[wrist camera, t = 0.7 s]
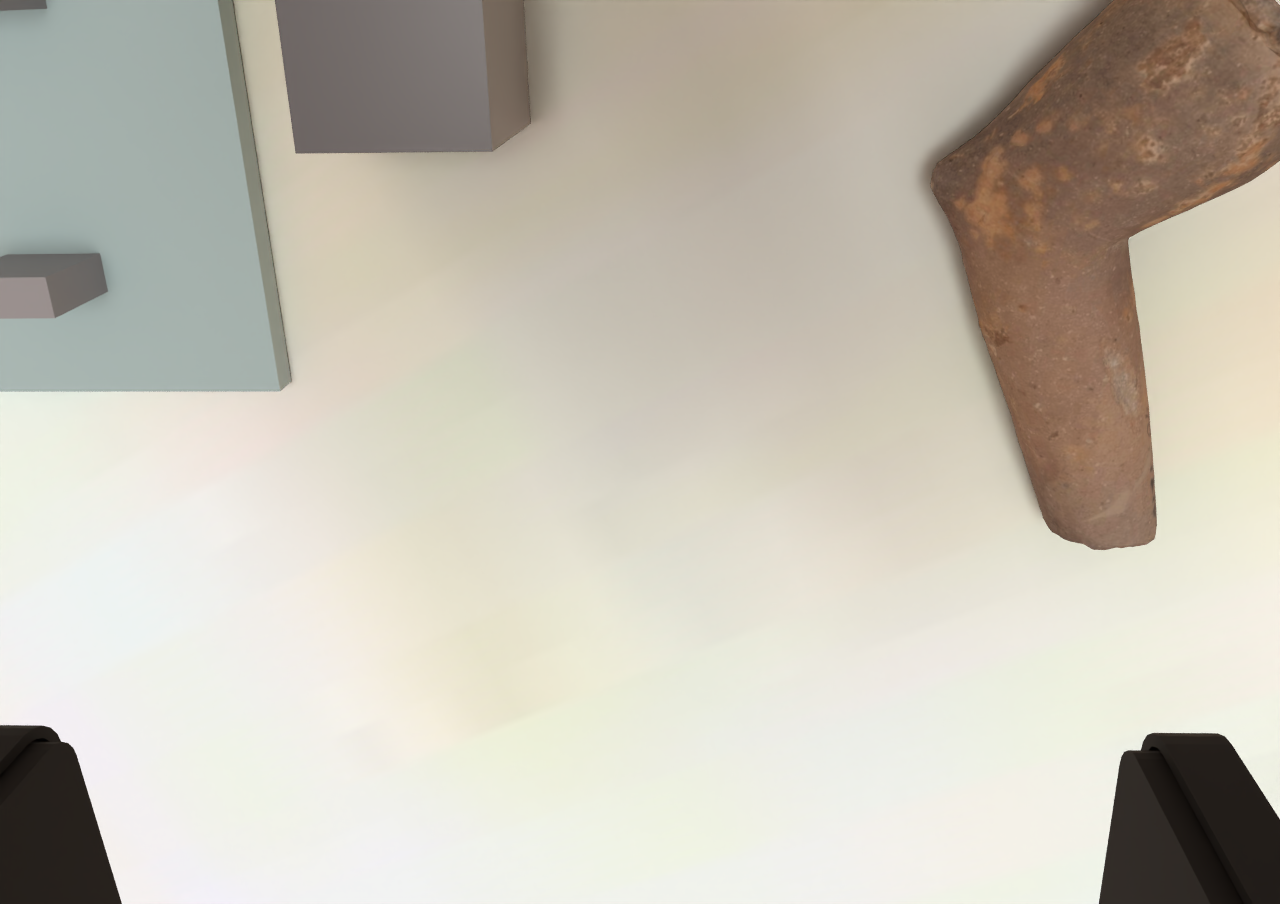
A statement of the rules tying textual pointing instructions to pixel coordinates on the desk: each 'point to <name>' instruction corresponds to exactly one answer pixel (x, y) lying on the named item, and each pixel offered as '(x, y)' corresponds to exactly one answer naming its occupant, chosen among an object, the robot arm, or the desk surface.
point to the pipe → (1103, 231)
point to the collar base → (131, 202)
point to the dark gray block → (404, 74)
